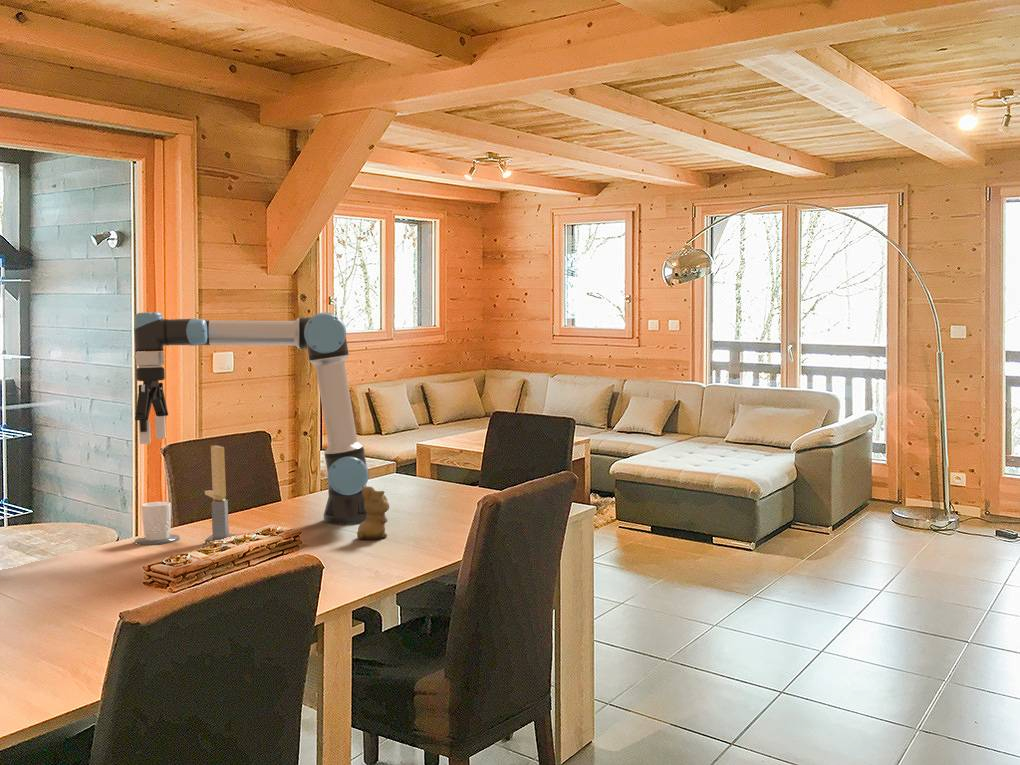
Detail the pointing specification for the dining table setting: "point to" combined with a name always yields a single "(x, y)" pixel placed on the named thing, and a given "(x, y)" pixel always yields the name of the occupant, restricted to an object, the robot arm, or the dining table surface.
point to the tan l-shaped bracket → (217, 474)
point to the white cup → (156, 520)
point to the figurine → (373, 515)
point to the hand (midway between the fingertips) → (153, 441)
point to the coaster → (147, 542)
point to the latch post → (219, 521)
